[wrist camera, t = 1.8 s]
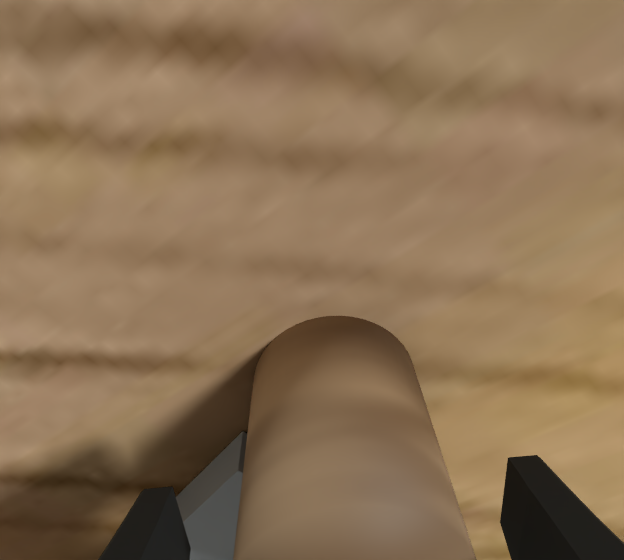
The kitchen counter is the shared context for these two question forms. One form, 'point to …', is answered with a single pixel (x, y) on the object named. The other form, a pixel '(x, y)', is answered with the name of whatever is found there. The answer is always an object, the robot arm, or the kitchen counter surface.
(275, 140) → the kitchen counter surface
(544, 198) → the kitchen counter surface
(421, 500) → the walnut cylinder
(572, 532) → the robot arm
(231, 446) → the base
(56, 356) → the kitchen counter surface
